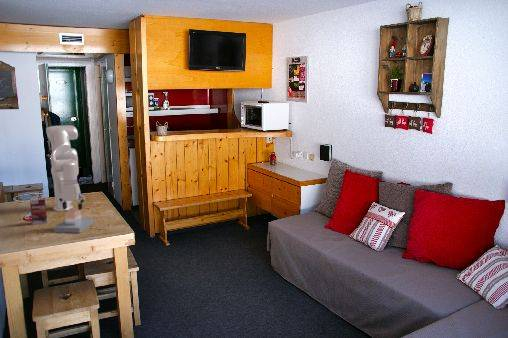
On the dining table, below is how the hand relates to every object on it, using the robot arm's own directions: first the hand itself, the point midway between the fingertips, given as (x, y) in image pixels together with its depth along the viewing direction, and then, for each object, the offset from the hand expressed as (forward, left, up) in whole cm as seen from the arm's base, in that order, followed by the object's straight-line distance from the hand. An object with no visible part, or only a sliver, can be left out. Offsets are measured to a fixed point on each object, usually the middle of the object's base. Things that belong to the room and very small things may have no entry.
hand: (72, 209), depth 267 cm
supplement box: (-6, -26, -12) cm, 29 cm away
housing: (0, 0, -9) cm, 9 cm away
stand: (0, 0, -12) cm, 12 cm away
